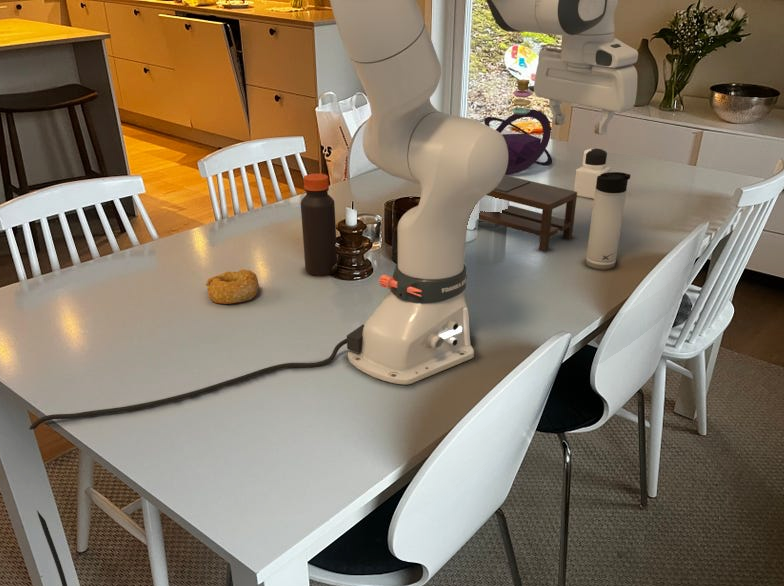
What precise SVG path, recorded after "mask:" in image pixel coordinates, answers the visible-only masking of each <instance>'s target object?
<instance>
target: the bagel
mask: <svg viewBox="0 0 784 586" xmlns="http://www.w3.org/2000/svg"><path fill="white" fill-rule="evenodd" d="M205 285H206V287H207V294H208V296H209V298H210V300H211V301H212V302H213V303H214V304H215V303H216V304H223V305H228V304H229V305H231V304H237V303H244V302H247V301H250V300H253V299H254V297H255V296H256V295H257V294H258V287H259V279H258V276H257V274H256V273H255V272H253V271H252V270H250V269H244V268H243V269H239V270H238V271H226V272H223V273H220V274H218V275H214V276H212V277H209V278H208V279H207V281H206V283H205Z"/></svg>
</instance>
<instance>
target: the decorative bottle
mask: <svg viewBox="0 0 784 586" xmlns="http://www.w3.org/2000/svg"><path fill="white" fill-rule="evenodd" d="M516 84H517V88H516V89H517V90H514V91H513V92H512V94H513V96H515V97H516V98H519V99H513V100H512V103H513V104H514V106H516V107H513V108H512V109H511V112H513V114H512V115H509V116H508V117H507V118H506V119H502V118H499V117H495V116H487V117H485V118H484V120H483V122H484V123H483V124H485V125H487V126H489V127H491V125H490V123H491V122H492V121H496V122H500V123H499V125H498V127H497V128H496V129H495V130H496V131H498V132H499V133H501V134H502V132H503V131H504V130H505V128H507V127H509V126H511V127H513V128H514V129H517V131H520V132H521V133H503V134H502V136H503V137H504V139H505V141H506V144H507V148H508V166H507V170H506V173H505V175H514V174H519V173H521V172H523V171H525V170H527V169H529V168H530V167H531V166H532V165H534V164H535V165H538V166H544V167H547V166H551V165H553V158H552V155H551V154H550V153H549V151H548V150H547V147H548V145H549V143H550V139H551V133H552V127H551V121H550V120H549V118H548V117H547V114H545V113H544V112H542V111H541V110H537V109H532V108H531V109H530V108H526V107H527V106H529V105H531V103H532V101H531V100H529V99H524V98H529V97H530V96H532V94H533V93H532V91H528V90H529V85H530V80H529V79H524V78H522V79H517V80H516ZM522 118H532V119H535V120H536V121H537V122H539V124H540V126H541V128H542V138H539V137H537V136H534V135H535V134H533V135H531V134H529V133H528V132H527V131H526V130H523V129H522V128H521V127H520V126H517V125H515V124H514V123H513V122H515V121H517V120H519V119H522ZM544 153H545V155H546V157H547V158H546V161H538V160H539V159H540V157H542V155H543V154H544Z"/></svg>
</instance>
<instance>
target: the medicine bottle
mask: <svg viewBox="0 0 784 586" xmlns="http://www.w3.org/2000/svg"><path fill="white" fill-rule="evenodd" d="M607 157H608V152H607V151H606V150H604V149H603V148H588V149H585V150H584V151H583V156H582V165H581V166H580V167H578V168H577V169H575V176H574V177H575V178H574V185H573V191H575V192H577V197H582V198H586V199H592V200H594V195H595V191H596V190H595V188H596V184H597V183H596V182H597V177H598V176H600V175H601V174H603V173H609V172H611V167H609V166H606V165H607V164H606V163H607V159H608V158H607Z"/></svg>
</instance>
